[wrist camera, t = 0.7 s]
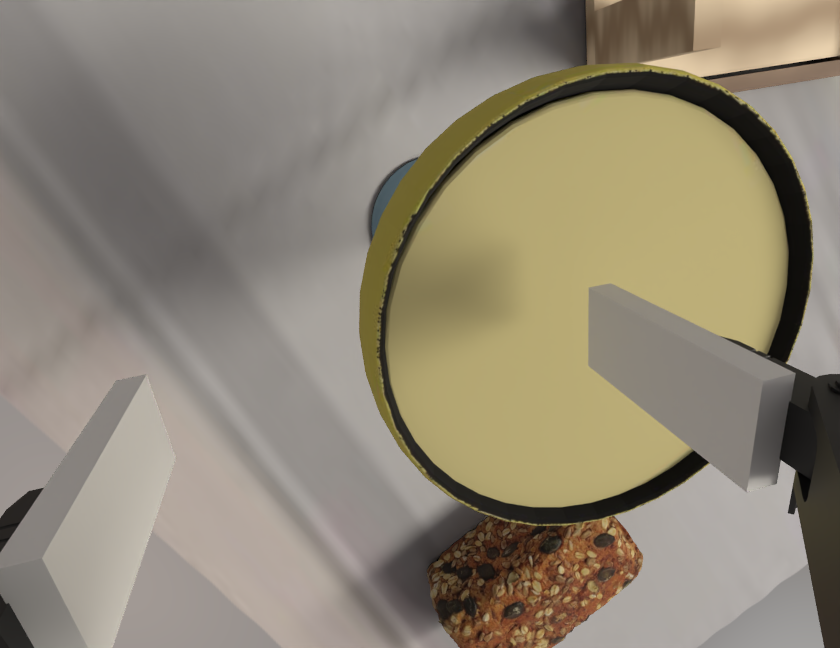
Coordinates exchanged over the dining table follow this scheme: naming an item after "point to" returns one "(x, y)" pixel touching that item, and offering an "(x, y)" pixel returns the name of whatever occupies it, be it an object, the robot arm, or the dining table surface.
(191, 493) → the dining table surface
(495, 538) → the bread
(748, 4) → the light wood drawer
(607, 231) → the cocktail glass
